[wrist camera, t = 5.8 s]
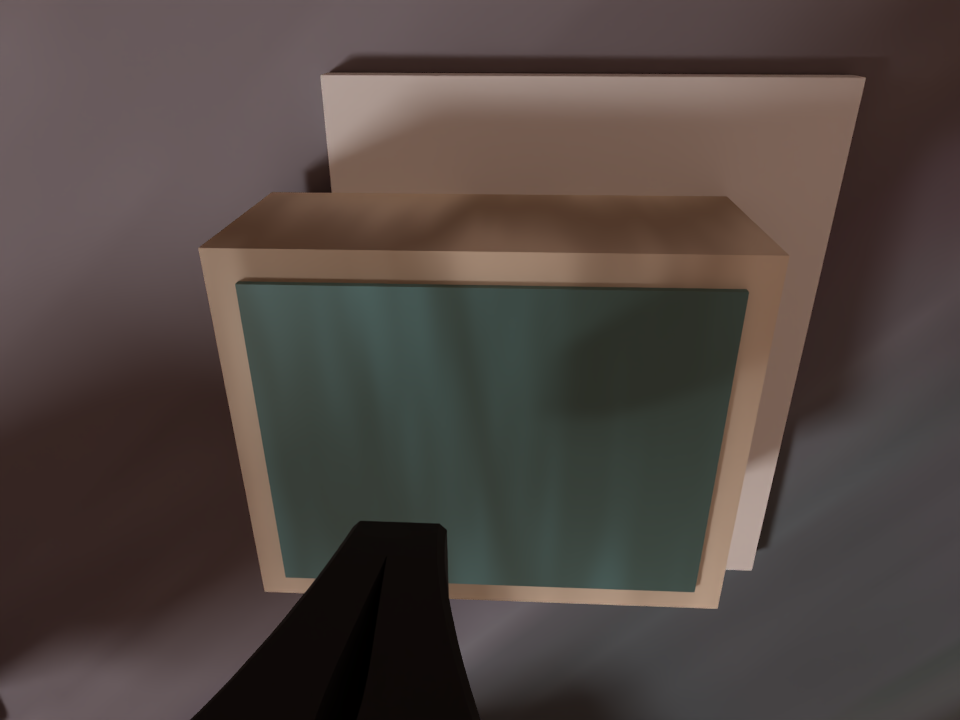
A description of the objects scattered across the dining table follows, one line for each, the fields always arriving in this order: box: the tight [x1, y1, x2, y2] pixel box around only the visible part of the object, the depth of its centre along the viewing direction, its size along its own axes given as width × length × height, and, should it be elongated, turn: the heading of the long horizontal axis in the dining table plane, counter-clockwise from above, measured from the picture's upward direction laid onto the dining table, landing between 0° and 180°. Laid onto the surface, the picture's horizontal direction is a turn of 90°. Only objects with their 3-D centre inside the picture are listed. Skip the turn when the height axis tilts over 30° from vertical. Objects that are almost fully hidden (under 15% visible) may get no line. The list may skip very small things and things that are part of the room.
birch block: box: [198, 192, 789, 609], centre depth 15 cm, size 4×8×10 cm
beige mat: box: [321, 73, 866, 571], centre depth 17 cm, size 11×13×1 cm
